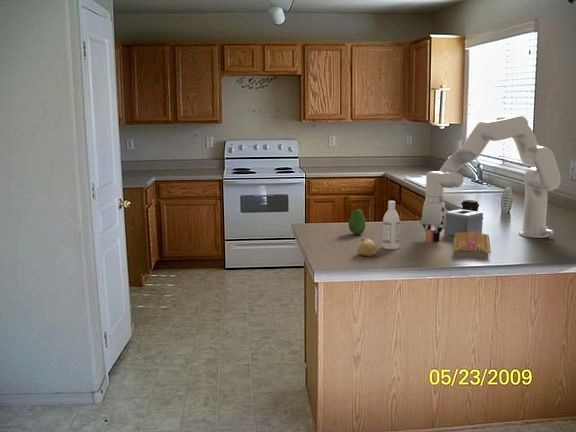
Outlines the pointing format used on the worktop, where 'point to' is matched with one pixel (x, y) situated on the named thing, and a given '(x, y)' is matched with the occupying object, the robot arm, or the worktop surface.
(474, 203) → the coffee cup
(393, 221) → the bath foam
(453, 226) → the box
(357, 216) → the avocado
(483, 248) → the brown and pink package
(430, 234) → the token
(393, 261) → the worktop surface
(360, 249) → the onion
